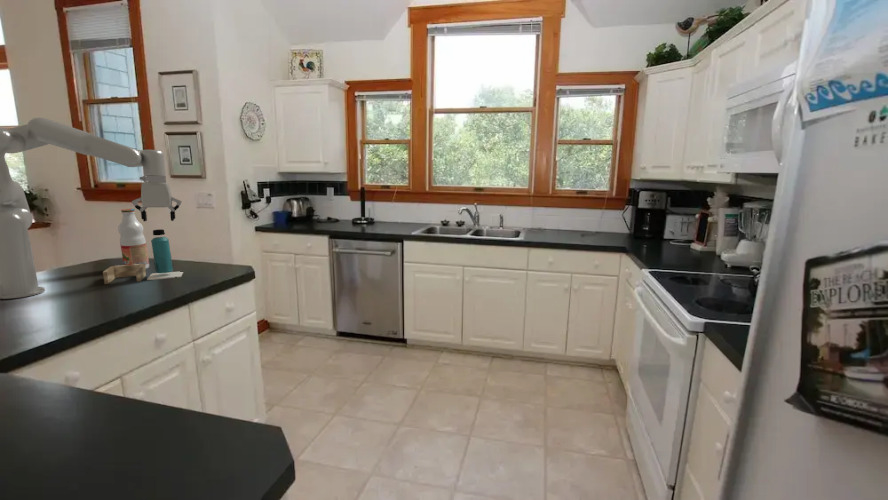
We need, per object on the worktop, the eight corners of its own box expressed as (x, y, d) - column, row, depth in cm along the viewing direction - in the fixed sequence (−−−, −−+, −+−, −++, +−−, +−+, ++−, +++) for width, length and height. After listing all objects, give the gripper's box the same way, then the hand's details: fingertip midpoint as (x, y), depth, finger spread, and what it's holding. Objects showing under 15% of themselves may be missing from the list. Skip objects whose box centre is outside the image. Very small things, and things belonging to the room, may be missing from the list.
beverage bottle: (177, 272, 179) (171, 228, 174) (166, 277, 172) (159, 231, 168) (164, 272, 179) (157, 228, 175) (151, 276, 173) (145, 230, 168)
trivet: (147, 280, 169) (146, 278, 169) (151, 274, 178) (151, 273, 178) (180, 277, 174) (180, 276, 174) (183, 272, 183) (183, 271, 183)
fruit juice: (145, 271, 185) (136, 210, 179) (121, 272, 182) (110, 210, 176) (152, 265, 193) (144, 207, 187) (129, 267, 190) (119, 208, 184)
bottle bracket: (104, 284, 162) (102, 272, 161) (112, 277, 173) (111, 266, 172) (140, 281, 167) (139, 269, 166) (146, 274, 178) (145, 263, 177)
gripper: (127, 179, 161) (131, 222, 164) (178, 180, 169) (181, 221, 172) (131, 179, 168) (136, 220, 171) (180, 180, 176) (184, 219, 179)
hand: (159, 220), depth 171 cm, fingers open, 9 cm apart
